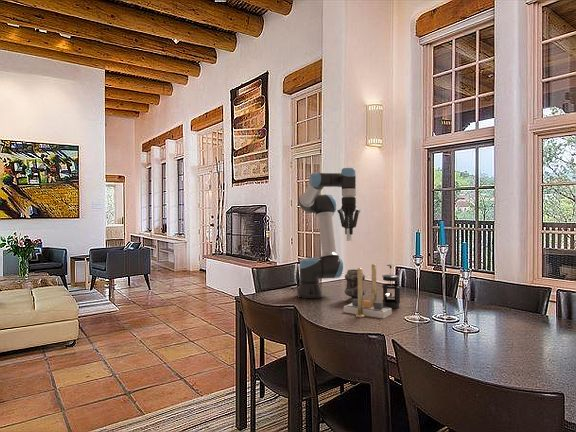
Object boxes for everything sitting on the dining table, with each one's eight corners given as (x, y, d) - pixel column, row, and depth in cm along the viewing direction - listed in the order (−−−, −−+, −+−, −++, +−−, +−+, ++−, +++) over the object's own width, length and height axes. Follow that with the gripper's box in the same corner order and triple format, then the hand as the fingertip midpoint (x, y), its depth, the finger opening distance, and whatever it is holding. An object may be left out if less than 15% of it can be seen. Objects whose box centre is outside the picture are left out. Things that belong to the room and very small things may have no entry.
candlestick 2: (368, 310, 220) (368, 264, 220) (372, 308, 224) (371, 263, 223) (376, 311, 218) (375, 265, 217) (379, 309, 221) (379, 264, 221)
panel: (343, 312, 217) (343, 305, 217) (352, 308, 225) (352, 301, 225) (383, 318, 204) (383, 311, 204) (391, 314, 212) (391, 307, 212)
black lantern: (377, 305, 230) (377, 264, 229) (391, 303, 234) (391, 262, 233) (391, 310, 219) (391, 266, 219) (405, 308, 223) (405, 265, 223)
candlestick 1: (354, 316, 207) (353, 268, 207) (358, 314, 211) (358, 267, 210) (362, 318, 205) (361, 269, 204) (366, 316, 208) (365, 268, 208)
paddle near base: (352, 305, 218) (352, 299, 218) (354, 304, 220) (354, 298, 220) (359, 306, 216) (359, 300, 215) (361, 305, 217) (361, 299, 217)
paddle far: (373, 308, 211) (373, 302, 211) (375, 307, 213) (375, 301, 213) (381, 309, 208) (381, 303, 208) (383, 308, 210) (382, 302, 210)
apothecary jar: (364, 298, 247) (364, 268, 247) (366, 303, 235) (366, 271, 235) (344, 298, 248) (343, 268, 248) (344, 303, 236) (344, 271, 236)
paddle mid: (362, 306, 214) (362, 300, 214) (364, 305, 216) (364, 300, 216) (369, 307, 212) (369, 301, 212) (372, 306, 214) (372, 300, 214)
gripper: (334, 197, 226) (334, 240, 226) (356, 196, 218) (356, 241, 218) (341, 197, 232) (341, 239, 232) (362, 196, 224) (363, 240, 224)
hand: (349, 240), depth 225 cm, fingers closed
